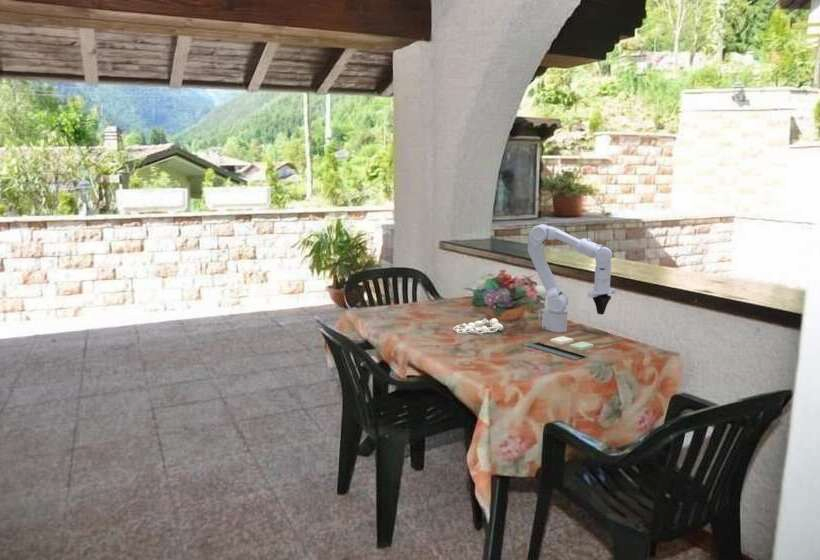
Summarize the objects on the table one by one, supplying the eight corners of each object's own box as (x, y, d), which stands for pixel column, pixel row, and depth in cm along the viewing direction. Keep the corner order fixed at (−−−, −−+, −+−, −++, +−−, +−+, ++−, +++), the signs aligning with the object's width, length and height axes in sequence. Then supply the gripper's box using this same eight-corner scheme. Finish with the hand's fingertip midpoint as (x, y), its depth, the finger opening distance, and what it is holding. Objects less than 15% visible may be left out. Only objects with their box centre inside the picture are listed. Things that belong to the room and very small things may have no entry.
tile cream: (550, 344, 219) (550, 339, 218) (562, 341, 223) (562, 336, 222) (560, 347, 215) (561, 342, 214) (573, 344, 219) (573, 338, 218)
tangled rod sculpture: (457, 340, 232) (457, 330, 231) (451, 328, 246) (451, 318, 245) (505, 336, 234) (506, 327, 233) (496, 325, 248) (496, 315, 247)
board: (555, 340, 226) (556, 336, 226) (579, 334, 234) (579, 330, 234) (600, 352, 210) (600, 348, 210) (623, 345, 218) (623, 341, 218)
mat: (526, 346, 218) (526, 345, 218) (552, 339, 226) (552, 338, 226) (575, 360, 201) (575, 359, 200) (600, 353, 209) (600, 352, 209)
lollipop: (535, 321, 255) (536, 287, 252) (529, 318, 260) (530, 285, 258) (548, 320, 256) (550, 286, 254) (542, 317, 262) (543, 284, 259)
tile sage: (569, 350, 211) (569, 344, 211) (581, 346, 215) (581, 341, 215) (581, 353, 207) (581, 347, 207) (593, 349, 212) (593, 344, 211)
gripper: (599, 282, 218) (597, 318, 220) (623, 278, 226) (621, 313, 228) (583, 280, 223) (582, 315, 226) (607, 276, 232) (605, 309, 234)
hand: (600, 313), depth 227 cm, fingers closed
